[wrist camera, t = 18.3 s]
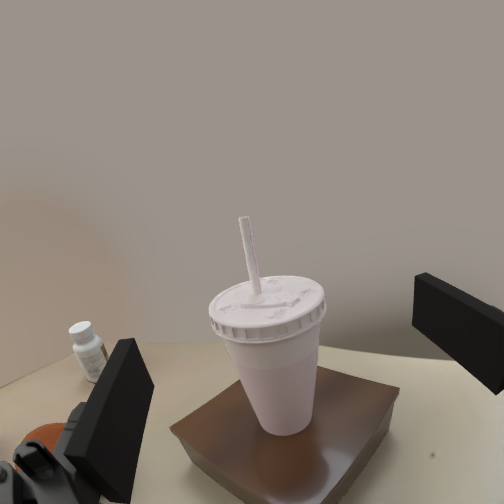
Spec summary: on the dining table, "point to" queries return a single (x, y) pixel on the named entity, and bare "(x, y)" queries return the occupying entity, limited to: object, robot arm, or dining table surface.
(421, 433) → the dining table surface
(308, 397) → the smoothie
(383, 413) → the walnut box
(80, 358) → the pill bottle
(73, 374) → the dining table surface
